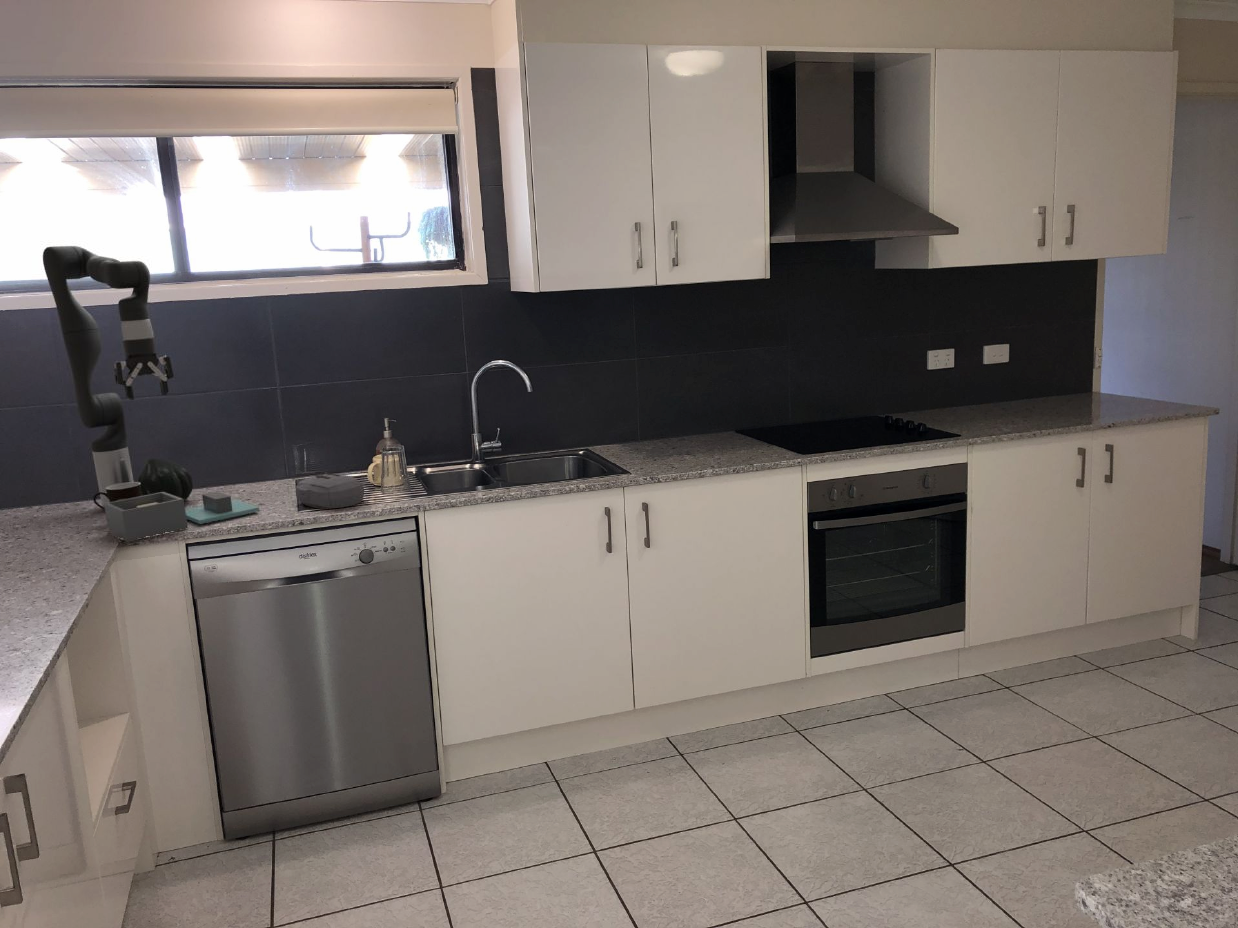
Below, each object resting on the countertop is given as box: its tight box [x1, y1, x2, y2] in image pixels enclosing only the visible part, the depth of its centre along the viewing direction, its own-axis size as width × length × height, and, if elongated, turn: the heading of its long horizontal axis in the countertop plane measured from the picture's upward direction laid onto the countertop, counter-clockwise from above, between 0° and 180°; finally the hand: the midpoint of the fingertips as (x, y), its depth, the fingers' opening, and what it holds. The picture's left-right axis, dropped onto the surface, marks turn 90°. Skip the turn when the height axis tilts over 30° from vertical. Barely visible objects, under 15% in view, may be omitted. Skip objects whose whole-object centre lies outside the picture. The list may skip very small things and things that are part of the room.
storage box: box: [104, 492, 189, 543], centre depth 258 cm, size 15×15×8 cm
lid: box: [185, 491, 260, 525], centre depth 270 cm, size 16×16×6 cm
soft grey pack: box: [295, 472, 365, 510], centre depth 275 cm, size 15×8×20 cm
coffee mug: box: [92, 481, 141, 511], centre depth 271 cm, size 12×9×10 cm
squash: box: [137, 457, 194, 501], centre depth 287 cm, size 14×15×15 cm
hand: (148, 397), depth 268 cm, fingers open, 8 cm apart
